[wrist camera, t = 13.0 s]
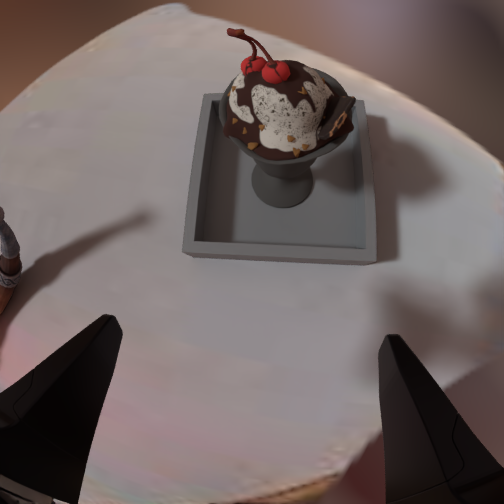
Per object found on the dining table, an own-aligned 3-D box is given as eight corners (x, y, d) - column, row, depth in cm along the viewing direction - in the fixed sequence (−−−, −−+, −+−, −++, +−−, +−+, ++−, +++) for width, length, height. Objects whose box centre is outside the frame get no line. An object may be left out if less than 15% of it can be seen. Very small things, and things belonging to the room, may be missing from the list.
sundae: (227, 162, 23) (174, 19, 9) (300, 133, 23) (317, -16, 9) (260, 233, 22) (234, 125, 8) (337, 199, 22) (413, 73, 8)
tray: (364, 265, 22) (376, 261, 19) (193, 257, 23) (182, 252, 20) (356, 118, 24) (363, 100, 21) (210, 112, 25) (203, 94, 22)
